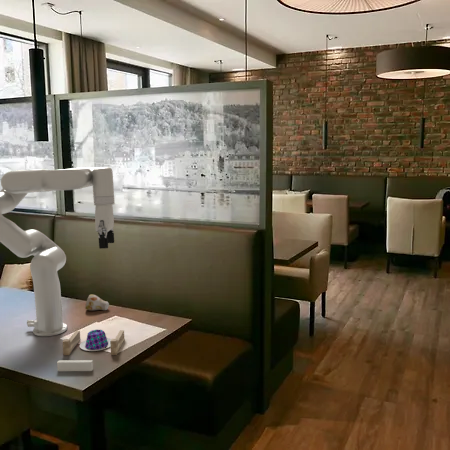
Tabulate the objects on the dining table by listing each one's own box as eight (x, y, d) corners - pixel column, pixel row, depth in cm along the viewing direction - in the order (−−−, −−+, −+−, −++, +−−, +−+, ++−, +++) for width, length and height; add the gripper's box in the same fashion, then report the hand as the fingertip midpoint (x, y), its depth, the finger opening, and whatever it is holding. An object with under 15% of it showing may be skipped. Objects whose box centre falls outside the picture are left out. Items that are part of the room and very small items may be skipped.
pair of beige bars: (63, 355, 167) (62, 341, 166) (75, 339, 180) (74, 326, 179) (116, 354, 166) (116, 341, 166) (125, 339, 180) (124, 326, 179)
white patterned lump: (109, 313, 209) (96, 295, 206) (91, 321, 212) (77, 303, 208) (114, 303, 216) (101, 286, 213) (96, 311, 218) (84, 294, 215)
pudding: (100, 336, 183) (100, 323, 182) (120, 344, 176) (119, 331, 175) (72, 346, 174) (72, 333, 173) (92, 355, 167) (91, 341, 166)
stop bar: (57, 371, 155) (57, 362, 154) (59, 369, 156) (58, 360, 156) (91, 371, 155) (91, 362, 154) (93, 368, 156) (92, 360, 156)
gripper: (100, 198, 189) (102, 241, 191) (87, 203, 172) (90, 250, 174) (119, 197, 189) (121, 240, 191) (108, 203, 171) (111, 250, 174)
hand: (107, 245), depth 183 cm, fingers open, 9 cm apart
